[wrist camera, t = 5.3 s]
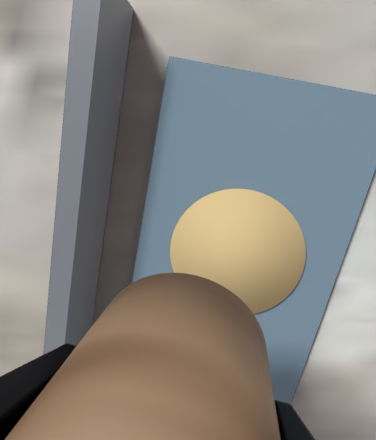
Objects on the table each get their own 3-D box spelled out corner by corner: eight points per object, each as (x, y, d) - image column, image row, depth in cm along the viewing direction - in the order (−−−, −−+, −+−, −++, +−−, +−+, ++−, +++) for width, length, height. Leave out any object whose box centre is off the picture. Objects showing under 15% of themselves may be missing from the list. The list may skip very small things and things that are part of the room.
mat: (287, 405, 21) (288, 413, 20) (120, 360, 22) (117, 366, 21) (396, 100, 16) (402, 98, 15) (170, 58, 17) (168, 55, 16)
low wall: (85, 374, 23) (56, 422, 19) (70, 370, 23) (38, 417, 19) (133, 9, 16) (104, -33, 12) (112, 5, 16) (76, -37, 12)
